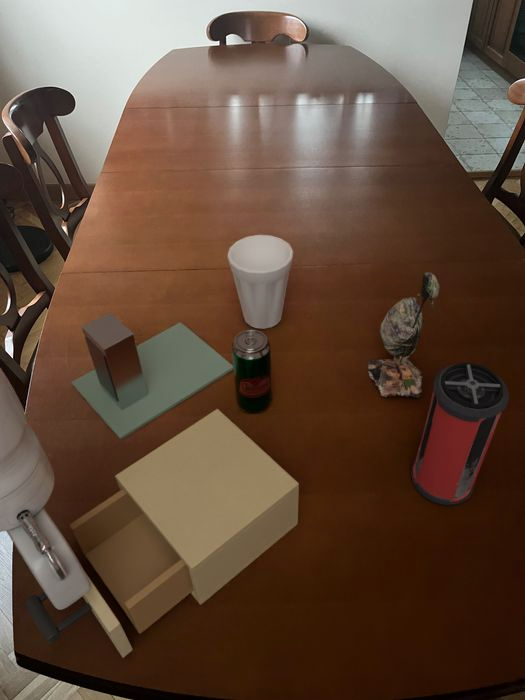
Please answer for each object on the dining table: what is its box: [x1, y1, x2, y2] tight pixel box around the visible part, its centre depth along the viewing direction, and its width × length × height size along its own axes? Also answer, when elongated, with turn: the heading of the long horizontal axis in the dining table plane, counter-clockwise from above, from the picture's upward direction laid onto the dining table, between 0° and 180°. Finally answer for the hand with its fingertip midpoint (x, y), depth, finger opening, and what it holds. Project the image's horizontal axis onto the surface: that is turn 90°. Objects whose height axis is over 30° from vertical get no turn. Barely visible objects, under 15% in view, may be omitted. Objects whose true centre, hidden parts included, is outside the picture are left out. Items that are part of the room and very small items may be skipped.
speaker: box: [410, 362, 510, 506], centre depth 68 cm, size 8×8×18 cm
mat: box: [70, 321, 234, 441], centre depth 89 cm, size 20×14×1 cm
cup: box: [227, 234, 294, 330], centre depth 93 cm, size 10×10×13 cm
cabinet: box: [114, 408, 300, 606], centre depth 68 cm, size 15×15×9 cm
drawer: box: [24, 488, 194, 658], centre depth 63 cm, size 18×13×7 cm
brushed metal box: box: [81, 312, 148, 410], centre depth 82 cm, size 5×6×12 cm
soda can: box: [231, 329, 273, 414], centre depth 81 cm, size 5×5×12 cm
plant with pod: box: [367, 271, 440, 399], centre depth 81 cm, size 8×11×20 cm
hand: (44, 552), depth 64 cm, fingers closed, pressing on drawer
